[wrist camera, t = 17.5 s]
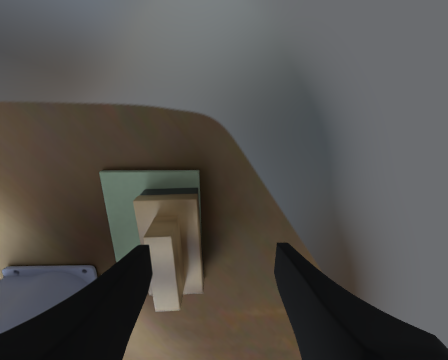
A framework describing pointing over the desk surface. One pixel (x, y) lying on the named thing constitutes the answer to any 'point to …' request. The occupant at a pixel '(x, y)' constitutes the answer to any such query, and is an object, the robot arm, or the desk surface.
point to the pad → (125, 194)
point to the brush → (171, 243)
